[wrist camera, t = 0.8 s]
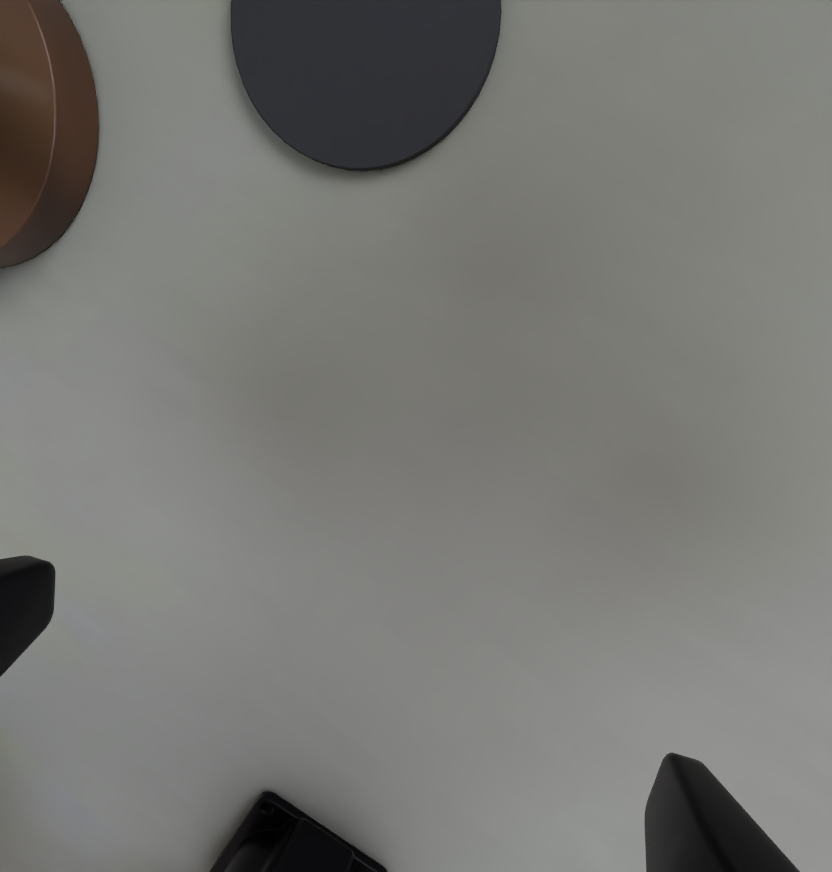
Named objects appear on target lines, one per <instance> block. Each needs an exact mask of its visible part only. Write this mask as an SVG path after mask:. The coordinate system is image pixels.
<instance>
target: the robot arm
mask: <svg viewBox="0 0 832 872" xmlns="http://www.w3.org/2000/svg"><path fill="white" fill-rule="evenodd" d="M54 594H55V568H54V566H53V565H52V564H51V563H50V562H48V561H45V560H41V559H38V558H35V557H31V556H18V557H12V558H5V559H0V677H1V675H2V674H3V673H4V672H5V671H6V670H7V669H8V668H9V667H10V666H11V665H12V664H13V663H14V662H15V660H16V659H17V658H18V657H19V656H20V655H21V654H22V653H23V652H24V651H25V650H26V649H27V648H28V647H29V645H30V644H31V643H32V642H33V641H34V640H35V639H36V638H37V637H38V636H39V635H40V634H41V633H42V632H43V630H44V629H45V628H46V627H47V625H48V624H49V622H50V620H51V618H52V615H53V611H54ZM268 804H269V805H270V806H269V805H268ZM645 845H646V871H647V872H800V871H799V870H798V869H797V868H796V867H795V866H794V865H793V863H792V862H791V861H790V860H789V859H788V858H787V857H786V856H785V855H784V853H783V852H782V851H781V850H780V849H779V848H778V847H777V846H776V844H775V843H774V842H773V841H772V840H771V839H770V838H769V837H768V836H767V834H766V833H765V832H764V831H763V830H762V829H761V828H760V827H759V825H758V824H757V823H756V822H755V821H754V820H753V819H752V818H751V816H750V815H749V814H748V813H747V812H746V811H745V810H744V809H743V808H742V806H741V805H740V804H739V803H738V802H737V801H736V800H735V799H734V797H733V796H732V795H731V794H730V793H729V792H728V791H727V790H726V789H725V787H724V786H723V785H722V784H721V783H720V782H719V781H718V780H717V778H716V777H715V776H714V775H713V774H712V773H711V772H710V771H709V770H708V768H707V767H706V766H705V765H704V764H703V763H702V762H700V761H698V760H695V759H692V758H689V757H685V756H682V755H679V754H675V753H669V754H667V755H666V756H665V757H664V759H663V761H662V763H661V766H660V768H659V771H658V774H657V777H656V779H655V782H654V785H653V787H652V790H651V793H650V795H649V798H648V801H647V805H646V810H645ZM210 872H387V870H386V869H385V868H384V867H383V866H382V865H380V864H379V863H377V862H376V861H374V860H373V859H371V858H370V857H368V856H367V855H365V854H364V853H362V852H361V851H359V850H358V849H356V848H355V847H353V846H352V845H351V844H349V843H348V842H346V841H345V840H343V839H342V838H340V837H339V836H337V835H336V834H334V833H333V832H331V831H330V830H328V829H327V828H325V827H324V826H322V825H321V824H319V823H318V822H316V821H315V820H313V819H312V818H310V817H309V816H307V815H306V814H305V813H303V812H302V811H300V810H299V809H297V808H296V807H294V806H293V805H291V804H290V803H288V802H287V801H285V800H284V799H282V798H281V797H279V796H278V795H276V794H275V793H273V792H268V791H266V792H263V793H262V794H261V795H260V797H259V798H258V800H257V801H256V803H255V804H254V806H253V807H252V809H251V810H250V812H249V813H248V815H247V816H246V818H245V819H244V821H243V822H242V824H241V825H240V827H239V828H238V830H237V831H236V833H235V834H234V836H233V837H232V839H231V840H230V842H229V843H228V845H227V846H226V848H225V849H224V851H223V852H222V854H221V855H220V857H219V858H218V860H217V861H216V863H215V864H214V866H213V867H212V869H211V870H210Z"/></svg>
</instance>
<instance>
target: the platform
mask: <svg viewBox="0 0 832 872" xmlns="http://www.w3.org/2000/svg"><path fill="white" fill-rule="evenodd" d="M97 145H98V108H97V99H96V93H95V86H94V80H93V77H92V73H91V69H90V65H89V62H88V58H87V55H86V52H85V50H84V47H83V45H82V42H81V39H80V37H79V34H78V32H77V31H76V29H75V27H74V25H73V23H72V21H71V19H70V17H69V15H68V13H67V12H66V10H65V9H64V7H63V5H62V4H61V2H60V1H59V0H0V268H3V267H7V266H11V265H16V264H19V263H21V262H23V261H26V260H28V259H30V258H33V257H34V256H36V255H37V254H39V253H40V252H42V251H44V250H45V249H47V248H48V247H49V246H50V245H51V244H52V243H53V242H55V241H56V240H57V239H58V238H59V237H60V236H61V235H62V233H63V232H64V231H65V230H66V228H67V227H68V226H69V225H70V224H71V222H72V220H73V219H74V217H75V215H76V214H77V212H78V210H79V209H80V207H81V205H82V202H83V200H84V198H85V195H86V193H87V191H88V188H89V185H90V181H91V178H92V174H93V171H94V165H95V159H96V153H97Z"/></svg>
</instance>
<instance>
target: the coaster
mask: <svg viewBox="0 0 832 872" xmlns="http://www.w3.org/2000/svg"><path fill="white" fill-rule="evenodd" d="M500 20H501V0H232V2H231V33H232V42H233V49H234V54H235V58H236V63H237V67H238V70H239V73H240V76H241V79H242V82H243V85H244V87H245V89H246V91H247V93H248V95H249V97H250V99H251V101H252V103H253V105H254V106H255V108H256V109H257V111H258V113H259V114H260V116H261V117H262V118H263V120H264V121H265V122H266V123H267V125H268V126H269V127H270V128H271V129H272V131H274V132H275V133H276V134H277V135H278V136H279V137H280V138H281V139H282V140H283V141H284V142H285V143H287V144H288V145H290V146H291V147H292V148H294V149H295V150H297V151H298V152H300V153H301V154H303V155H305V156H307V157H309V158H311V159H313V160H315V161H317V162H320V163H323V164H326V165H328V166H331V167H336V168H341V169H346V170H361V171H366V170H376V169H383V168H387V167H391V166H395V165H398V164H401V163H403V162H406V161H408V160H411V159H413V158H415V157H417V156H419V155H420V154H422V153H424V152H426V151H427V150H429V149H430V148H432V147H433V146H434V145H436V144H437V143H438V142H440V141H441V140H442V139H444V138H445V137H446V136H447V135H448V134H449V133H450V132H451V131H452V130H453V129H454V128H455V127H456V126H457V125H458V123H459V122H460V121H461V120H462V118H463V117H464V116H465V115H466V113H467V112H468V111H469V109H470V108H471V106H472V104H473V103H474V101H475V100H476V98H477V96H478V95H479V93H480V91H481V89H482V87H483V85H484V82H485V80H486V78H487V76H488V74H489V71H490V68H491V65H492V62H493V59H494V56H495V51H496V47H497V42H498V37H499V31H500Z"/></svg>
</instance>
